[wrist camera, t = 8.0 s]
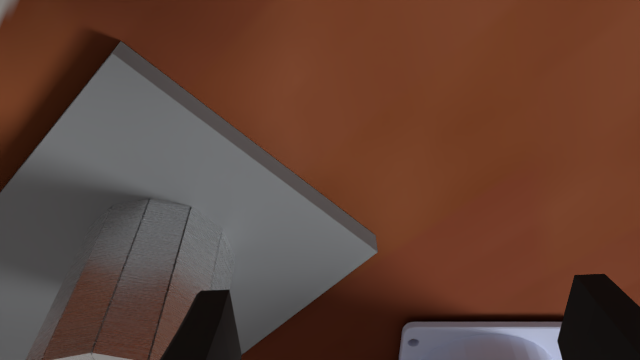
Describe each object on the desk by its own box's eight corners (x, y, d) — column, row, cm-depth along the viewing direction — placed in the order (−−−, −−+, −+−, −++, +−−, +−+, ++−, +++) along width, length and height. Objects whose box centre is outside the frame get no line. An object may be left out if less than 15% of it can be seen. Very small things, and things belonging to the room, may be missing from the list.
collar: (262, 257, 24) (245, 417, 18) (173, 326, 26) (133, 488, 20) (145, 173, 21) (82, 325, 15) (59, 256, 23) (-24, 416, 18)
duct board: (375, 235, 24) (385, 309, 21) (127, 427, 32) (105, 504, 28) (120, 40, 19) (81, 97, 16) (-102, 320, 27) (-160, 397, 24)
